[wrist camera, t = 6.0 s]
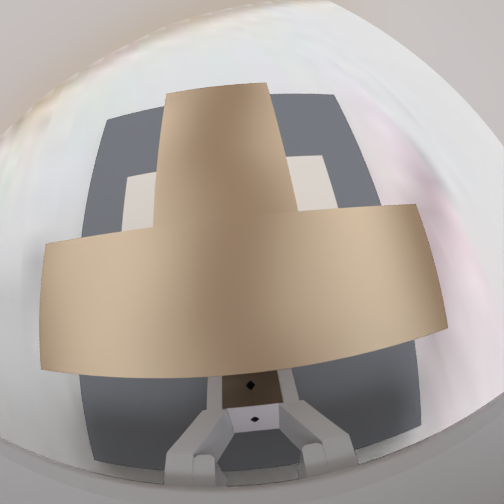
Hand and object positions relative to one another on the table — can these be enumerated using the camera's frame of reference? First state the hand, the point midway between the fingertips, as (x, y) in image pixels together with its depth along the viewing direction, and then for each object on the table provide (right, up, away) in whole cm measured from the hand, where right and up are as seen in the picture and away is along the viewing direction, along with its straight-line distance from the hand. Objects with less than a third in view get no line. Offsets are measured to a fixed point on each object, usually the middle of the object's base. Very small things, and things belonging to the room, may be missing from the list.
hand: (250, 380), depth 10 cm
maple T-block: (-1, +4, +6) cm, 7 cm away
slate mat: (-1, +5, +7) cm, 9 cm away
